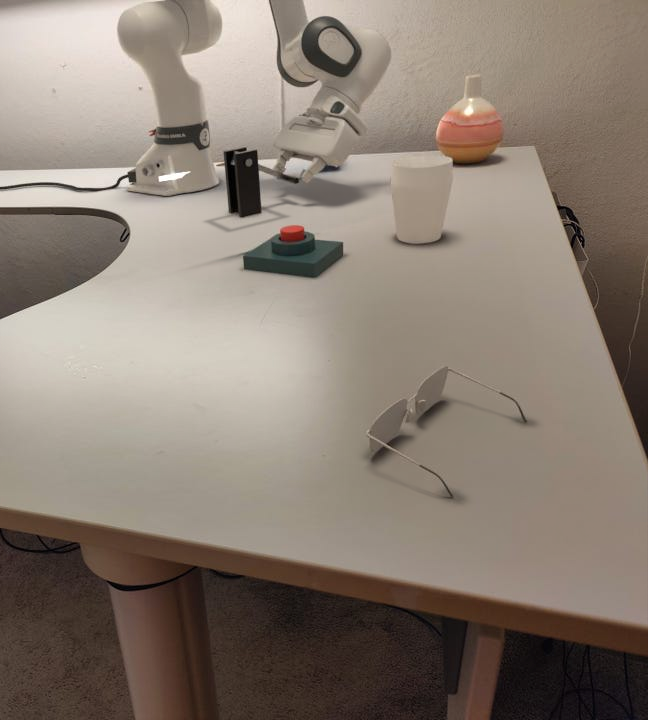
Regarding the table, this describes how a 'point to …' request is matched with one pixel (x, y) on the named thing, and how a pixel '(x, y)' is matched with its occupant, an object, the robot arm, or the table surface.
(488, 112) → the vase
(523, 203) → the table surface
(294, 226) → the button
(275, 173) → the lever
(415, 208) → the cup
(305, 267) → the button box
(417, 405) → the eyeglasses
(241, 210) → the bracket
